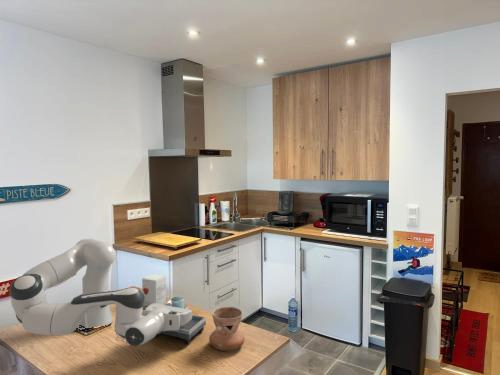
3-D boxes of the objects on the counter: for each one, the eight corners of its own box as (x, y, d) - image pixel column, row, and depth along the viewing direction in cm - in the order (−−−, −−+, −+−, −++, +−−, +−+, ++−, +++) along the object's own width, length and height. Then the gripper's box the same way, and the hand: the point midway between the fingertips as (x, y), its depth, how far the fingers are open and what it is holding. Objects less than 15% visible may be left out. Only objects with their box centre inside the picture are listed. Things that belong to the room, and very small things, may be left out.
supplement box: (141, 305, 183) (141, 278, 182) (152, 299, 192) (152, 273, 191) (156, 308, 180) (155, 280, 179) (166, 302, 188) (166, 275, 187)
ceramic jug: (234, 360, 133) (234, 323, 132) (201, 351, 139) (201, 316, 138) (251, 339, 150) (252, 306, 149) (221, 332, 155) (222, 301, 154)
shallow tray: (149, 337, 150) (148, 323, 149) (167, 323, 163) (167, 310, 162) (189, 346, 143) (189, 331, 142) (205, 331, 156) (205, 317, 155)
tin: (169, 325, 151) (168, 300, 150) (175, 319, 156) (175, 295, 155) (179, 327, 149) (179, 302, 148) (186, 321, 154) (186, 297, 153)
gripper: (138, 322, 144) (158, 309, 157) (181, 331, 137) (198, 316, 149) (138, 307, 143) (158, 295, 156) (181, 315, 136) (198, 302, 149)
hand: (178, 306), depth 153 cm, fingers open, 8 cm apart
